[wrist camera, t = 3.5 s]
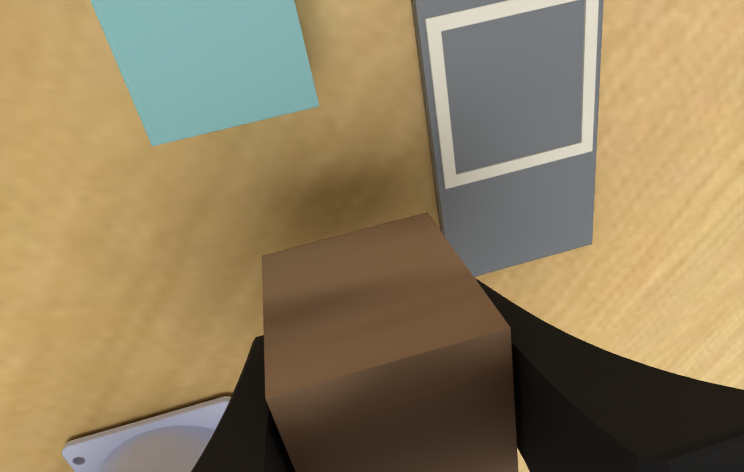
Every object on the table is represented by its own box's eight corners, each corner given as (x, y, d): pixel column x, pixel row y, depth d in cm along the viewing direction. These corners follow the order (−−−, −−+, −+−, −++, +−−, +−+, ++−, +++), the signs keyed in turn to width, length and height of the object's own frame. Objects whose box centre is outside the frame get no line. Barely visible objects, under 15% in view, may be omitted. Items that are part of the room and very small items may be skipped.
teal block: (303, 74, 18) (319, 106, 13) (178, 103, 17) (152, 146, 13) (267, -72, 16) (273, -90, 11) (122, -42, 15) (69, -49, 11)
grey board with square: (585, 239, 24) (593, 244, 23) (447, 277, 23) (451, 284, 23) (602, -187, 16) (614, -192, 15) (392, -146, 15) (397, -151, 15)
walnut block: (444, 338, 15) (518, 480, 11) (304, 379, 15) (324, 542, 11) (427, 212, 13) (510, 327, 9) (262, 255, 13) (265, 398, 9)
